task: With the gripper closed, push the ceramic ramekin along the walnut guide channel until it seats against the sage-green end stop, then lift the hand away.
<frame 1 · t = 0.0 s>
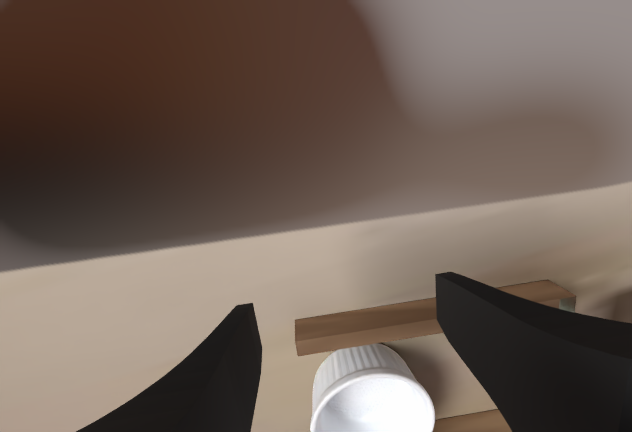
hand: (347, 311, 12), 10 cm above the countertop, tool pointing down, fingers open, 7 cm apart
channel: (426, 370, 25), on the countertop
ramekin: (360, 378, 26), on the countertop
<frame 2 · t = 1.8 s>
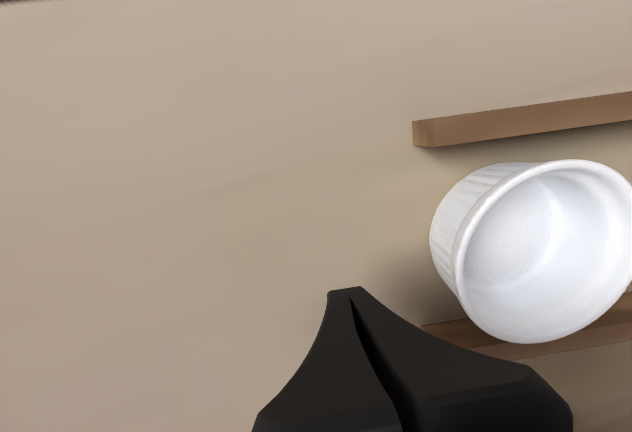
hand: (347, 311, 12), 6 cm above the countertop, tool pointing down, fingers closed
channel: (585, 217, 18), on the countertop
ramekin: (490, 229, 18), on the countertop
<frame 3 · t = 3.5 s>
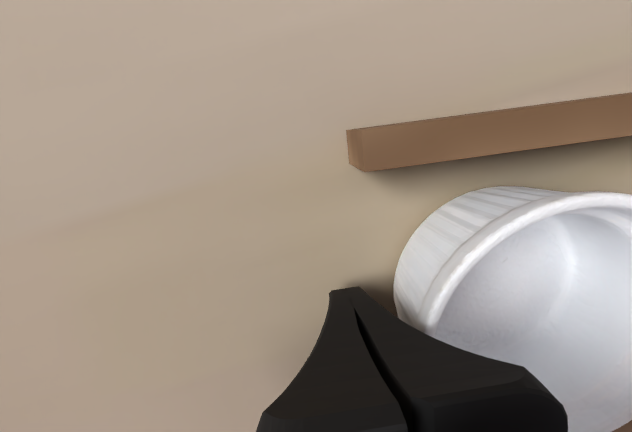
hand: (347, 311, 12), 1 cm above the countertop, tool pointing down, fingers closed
channel: (590, 260, 13), on the countertop
ramekin: (478, 274, 13), on the countertop, touching gripper
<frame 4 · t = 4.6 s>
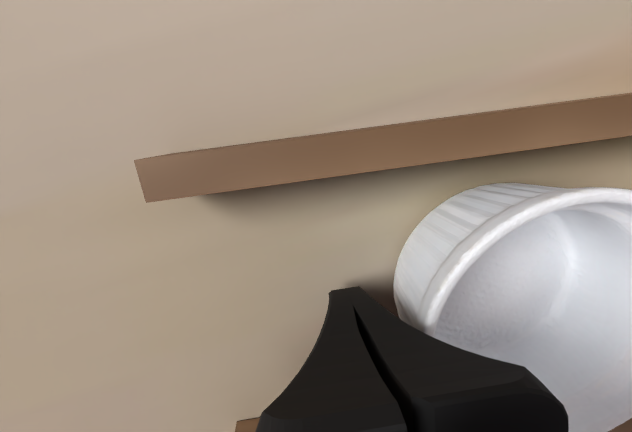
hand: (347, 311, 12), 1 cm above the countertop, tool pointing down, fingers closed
channel: (447, 282, 13), on the countertop
ramekin: (478, 271, 13), on the countertop, touching gripper
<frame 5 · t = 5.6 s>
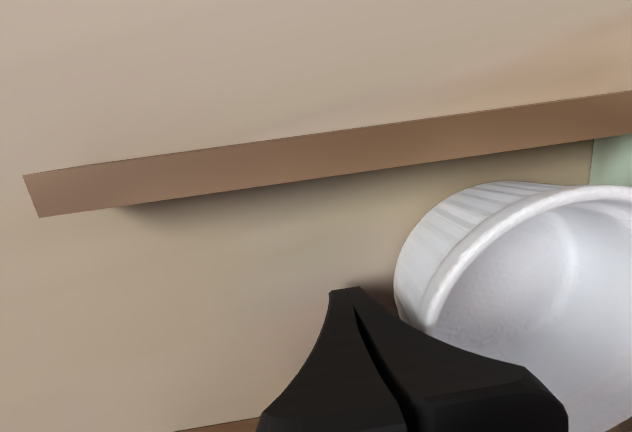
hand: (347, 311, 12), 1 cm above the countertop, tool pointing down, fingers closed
channel: (379, 291, 13), on the countertop
ramekin: (478, 270, 13), on the countertop, touching gripper
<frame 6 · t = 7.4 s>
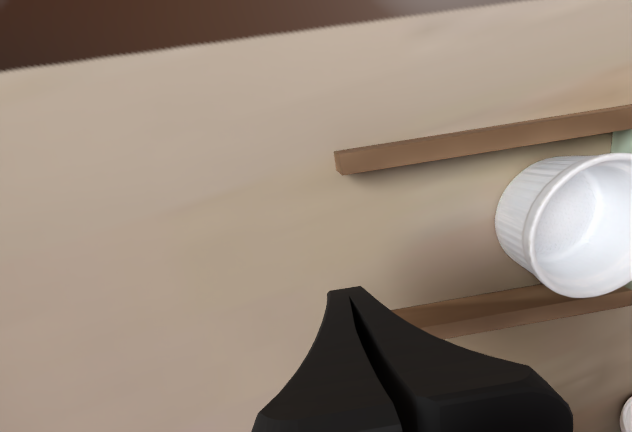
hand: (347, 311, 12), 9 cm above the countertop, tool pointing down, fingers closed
channel: (485, 225, 22), on the countertop
ramekin: (542, 211, 22), on the countertop
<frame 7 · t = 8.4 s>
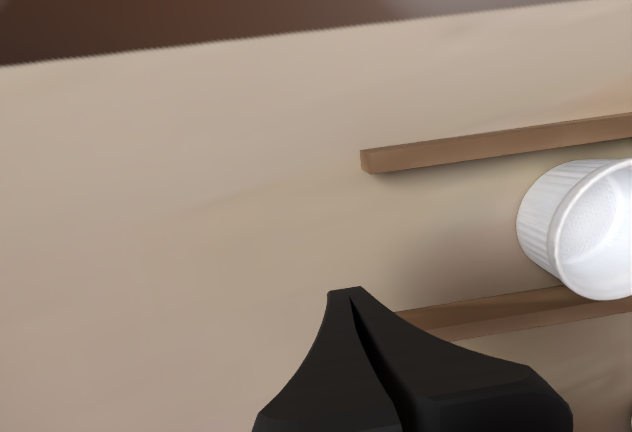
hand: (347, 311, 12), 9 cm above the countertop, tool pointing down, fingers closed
channel: (507, 226, 22), on the countertop
ramekin: (563, 214, 22), on the countertop
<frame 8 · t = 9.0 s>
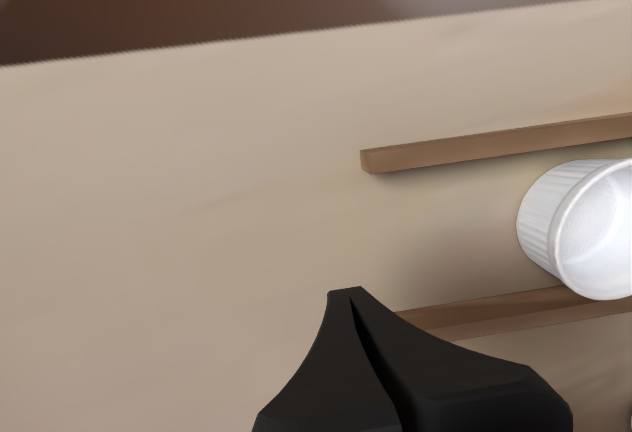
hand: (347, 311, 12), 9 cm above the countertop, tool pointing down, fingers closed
channel: (507, 226, 22), on the countertop
ramekin: (563, 214, 22), on the countertop
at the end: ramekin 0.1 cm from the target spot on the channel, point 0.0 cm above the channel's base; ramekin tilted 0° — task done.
